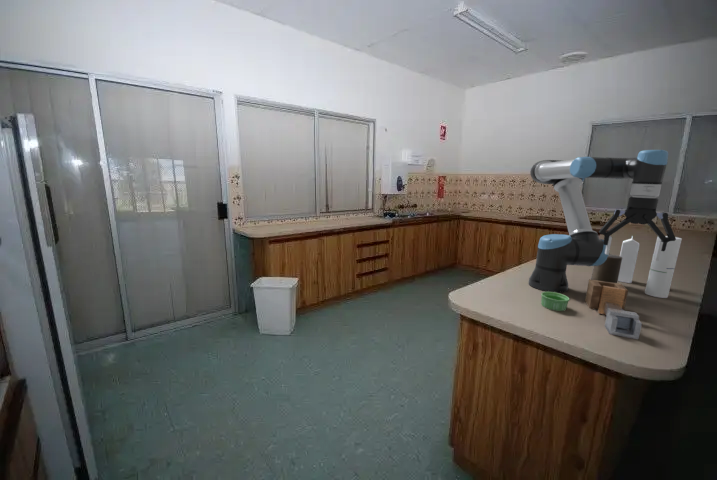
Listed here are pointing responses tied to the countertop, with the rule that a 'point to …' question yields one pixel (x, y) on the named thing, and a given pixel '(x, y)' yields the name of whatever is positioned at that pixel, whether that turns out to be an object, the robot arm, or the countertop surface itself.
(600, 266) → the pillar candle
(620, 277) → the milk
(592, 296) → the socket
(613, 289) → the brown and grey block
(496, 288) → the countertop surface
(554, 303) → the ramekin
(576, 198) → the robot arm
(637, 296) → the countertop surface
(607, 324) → the sleeve
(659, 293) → the cylindrical container
